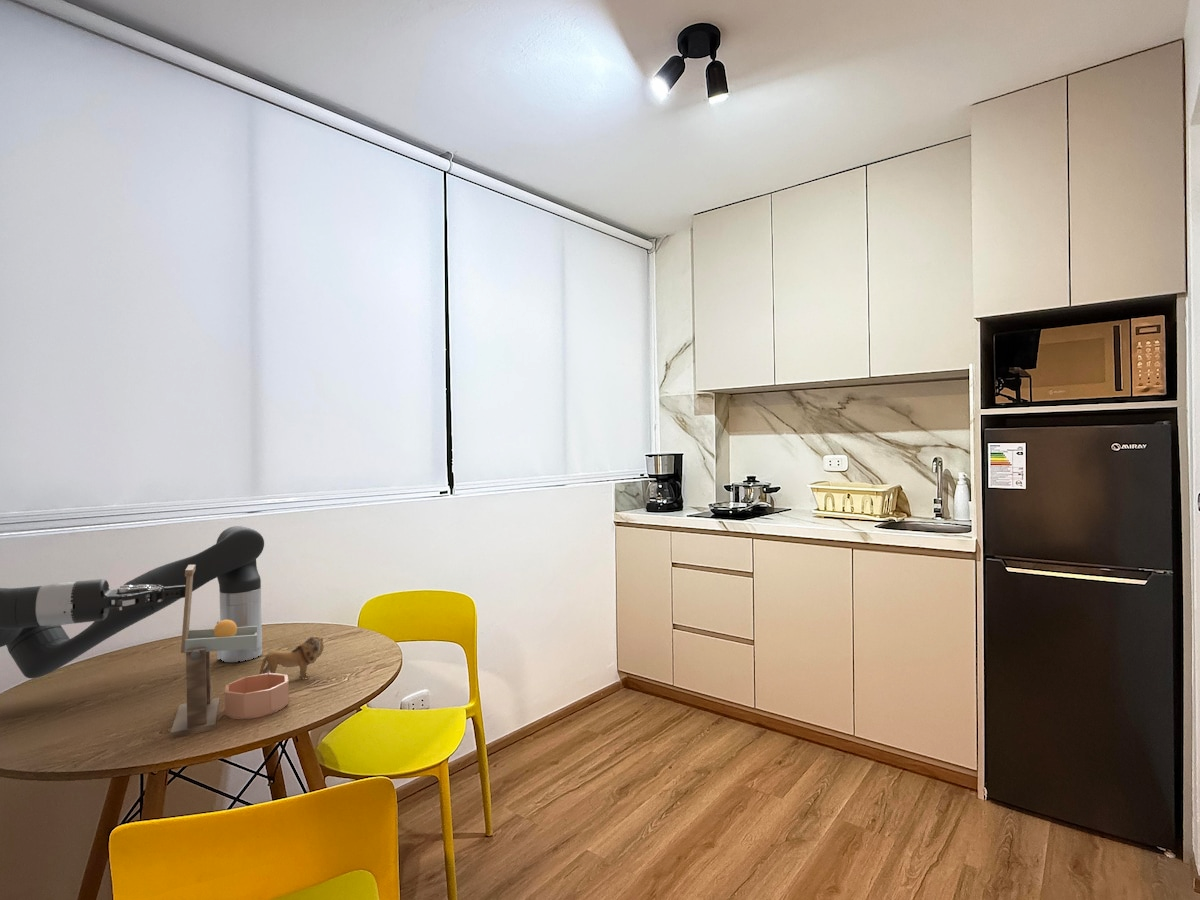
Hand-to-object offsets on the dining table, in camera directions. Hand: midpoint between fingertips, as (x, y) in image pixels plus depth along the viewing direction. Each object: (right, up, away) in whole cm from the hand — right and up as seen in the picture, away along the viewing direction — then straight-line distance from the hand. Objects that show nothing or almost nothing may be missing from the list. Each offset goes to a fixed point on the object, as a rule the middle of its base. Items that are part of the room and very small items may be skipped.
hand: (186, 591), depth 124 cm
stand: (+2, -25, +1) cm, 25 cm away
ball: (+6, -8, +3) cm, 11 cm away
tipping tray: (+5, -11, +3) cm, 13 cm away
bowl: (+11, -25, +6) cm, 28 cm away
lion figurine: (+9, -25, +23) cm, 35 cm away
